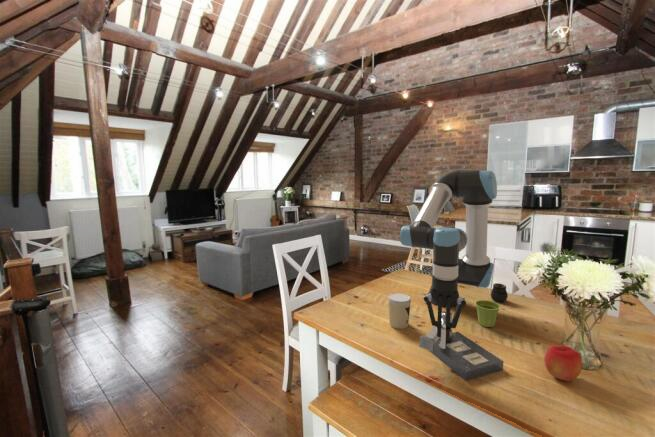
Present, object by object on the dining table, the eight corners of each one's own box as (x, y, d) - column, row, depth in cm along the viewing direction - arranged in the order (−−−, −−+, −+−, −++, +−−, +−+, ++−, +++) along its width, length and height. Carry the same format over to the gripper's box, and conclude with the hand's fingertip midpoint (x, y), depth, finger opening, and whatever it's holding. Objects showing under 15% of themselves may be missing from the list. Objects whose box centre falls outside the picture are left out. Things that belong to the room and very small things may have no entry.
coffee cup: (411, 330, 124) (411, 302, 123) (387, 328, 126) (387, 300, 124) (409, 320, 133) (410, 293, 132) (387, 318, 135) (388, 292, 134)
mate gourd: (507, 299, 154) (508, 280, 152) (506, 305, 147) (508, 285, 146) (490, 296, 157) (492, 277, 156) (489, 302, 151) (491, 282, 149)
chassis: (457, 338, 118) (457, 324, 117) (502, 369, 99) (504, 352, 98) (424, 346, 113) (424, 331, 112) (465, 380, 94) (467, 362, 93)
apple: (588, 384, 92) (592, 353, 91) (565, 391, 89) (568, 359, 88) (556, 365, 101) (559, 337, 100) (534, 371, 98) (537, 341, 97)
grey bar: (441, 325, 115) (442, 310, 114) (453, 328, 113) (454, 313, 112) (419, 350, 99) (419, 332, 98) (432, 355, 97) (433, 337, 96)
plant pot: (470, 324, 129) (471, 305, 127) (477, 316, 135) (479, 298, 134) (495, 332, 122) (496, 311, 121) (501, 323, 129) (503, 304, 128)
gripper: (466, 274, 99) (463, 343, 102) (423, 271, 103) (422, 337, 106) (468, 282, 92) (465, 355, 95) (423, 278, 96) (421, 349, 99)
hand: (442, 346), depth 101 cm, fingers closed
